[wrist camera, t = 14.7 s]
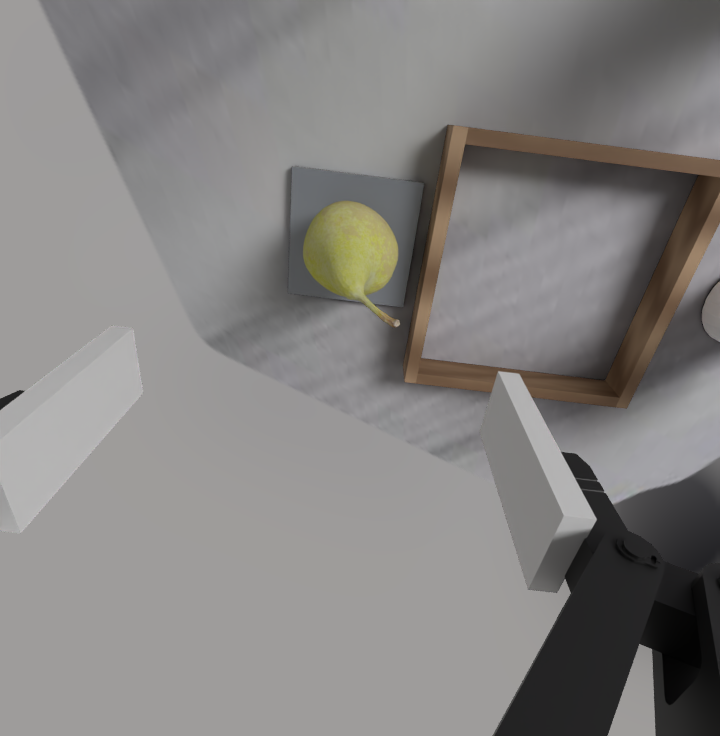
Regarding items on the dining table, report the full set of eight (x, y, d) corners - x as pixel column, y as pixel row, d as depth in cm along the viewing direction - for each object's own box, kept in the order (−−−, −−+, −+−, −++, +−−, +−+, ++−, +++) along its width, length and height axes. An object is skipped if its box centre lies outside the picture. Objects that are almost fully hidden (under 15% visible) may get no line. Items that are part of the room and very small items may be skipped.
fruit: (336, 177, 33) (316, 204, 23) (418, 231, 35) (434, 279, 24) (296, 252, 36) (261, 306, 26) (373, 299, 38) (370, 367, 27)
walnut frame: (447, 124, 32) (453, 125, 29) (719, 160, 32) (749, 164, 30) (403, 365, 42) (404, 382, 39) (611, 390, 42) (626, 408, 39)
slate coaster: (293, 165, 34) (291, 166, 33) (423, 182, 34) (424, 183, 33) (289, 290, 38) (287, 293, 38) (402, 304, 39) (403, 307, 38)
